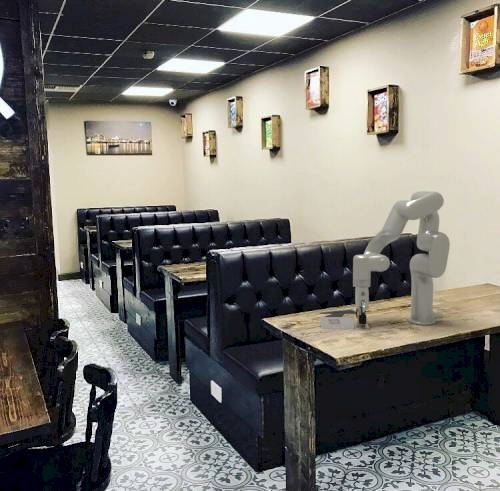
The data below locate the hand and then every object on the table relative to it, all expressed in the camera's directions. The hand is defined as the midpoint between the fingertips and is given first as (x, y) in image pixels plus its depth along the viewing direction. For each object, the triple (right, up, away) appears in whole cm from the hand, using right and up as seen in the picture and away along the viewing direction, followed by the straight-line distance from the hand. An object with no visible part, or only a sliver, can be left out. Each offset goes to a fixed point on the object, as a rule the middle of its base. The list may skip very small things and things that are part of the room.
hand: (361, 320), depth 225 cm
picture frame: (-5, -2, +21) cm, 22 cm away
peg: (0, -2, 0) cm, 2 cm away
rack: (-8, -4, +1) cm, 9 cm away
